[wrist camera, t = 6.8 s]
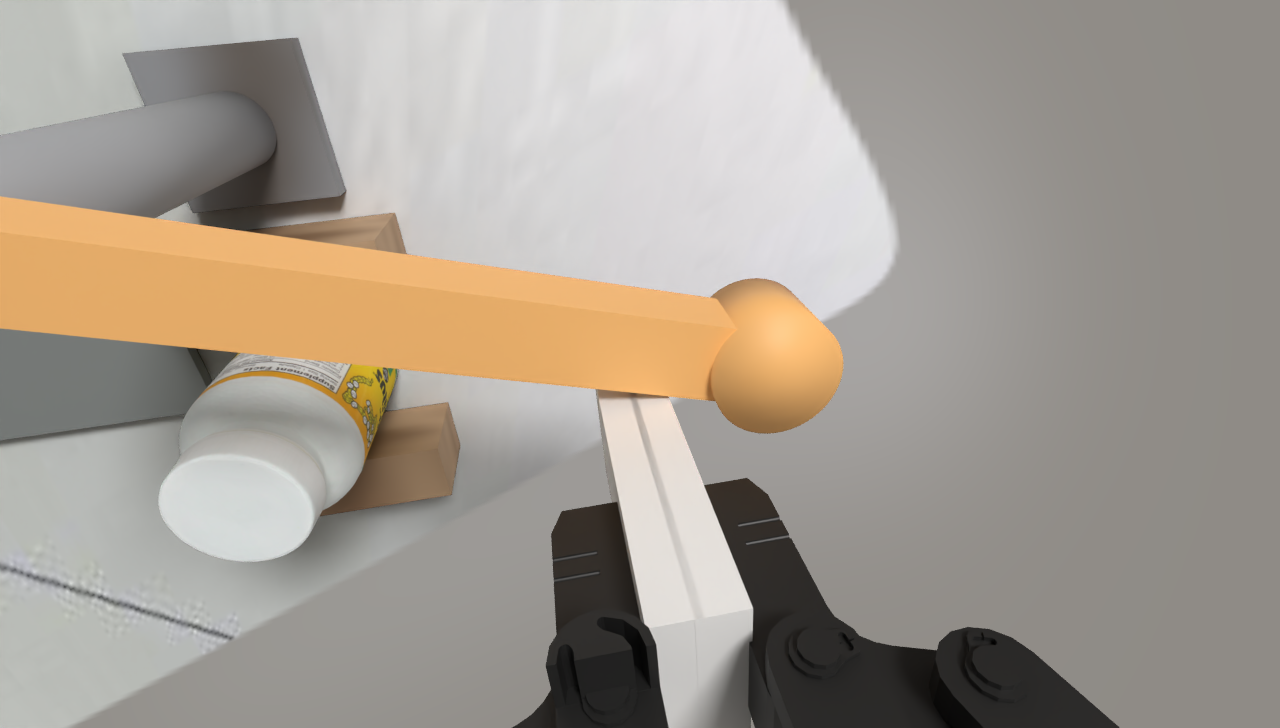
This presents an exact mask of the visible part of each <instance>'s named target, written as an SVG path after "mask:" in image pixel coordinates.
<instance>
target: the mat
mask: <svg viewBox="0 0 1280 728" xmlns="http://www.w3.org/2000/svg"><path fill="white" fill-rule="evenodd" d="M211 383H212V380H211V378H210V376H209V374H208V372H207V370H206V368H205V366H204V364H203V362H202V360H201V358H200V356H199V354H198V352H197V349H196V348H188V347H178V346H168V345H159V344H149V343H139V342H129V341H119V340H109V339H100V338H90V337H80V336H70V335H60V334H50V333H41V332H31V331H21V330H11V329H1V328H0V440H7V439H14V438H21V437H28V436H35V435H42V434H49V433H56V432H63V431H69V430H76V429H83V428H90V427H97V426H104V425H111V424H118V423H125V422H132V421H139V420H146V419H153V418H160V417H167V416H174V415H181V414H187V412H188V410H189V409H190V407H191V406H192V404H193V403H194V402H195V401H196V400H197V399H198V397H199V396H200V395H201V394H202V393H203V391H204V390H205V389H206V388H207V387H208V386H209V385H210V384H211Z"/></svg>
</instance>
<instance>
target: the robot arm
mask: <svg viewBox="0 0 1280 728" xmlns="http://www.w3.org/2000/svg"><path fill="white" fill-rule="evenodd" d="M596 396H597V404H598V411H599V419H600V427H601V435H602V442H603V450H604V458H605V465H606V473H607V478H608V484H609V489H610V495H611V500H612V503H607V504H602V505H596V506H590V507H584V508H579V509H572V510H567V511H562V512H561V514H560V516H559V519H558V521H557V523H556V525H555V527H554V529H553V531H552V534H551V538H552V556H553V575H554V594H555V613H556V630H557V631H556V632H557V635H556V637H555V639H554V640H553V642H552V643H551V645H550V646H549V652H548V657H547V662H546V669H547V673H548V677H549V682H550V686H551V691H550V692H549V694H548V696H547V697H546V699H545V700H544V702H543V703H542V704H541V705H540V706H539V708H537V710H536V711H535V712H534V713H533V714H532V715H531V716H529V717H528V718H527V719H525V720H524V721H522V722H521V723H519V724H518V725H516V726H514V727H513V728H751V717H752V720H753V722H754V726H755V728H1119V727H1118V726H1117V725H1116V724H1115V723H1113V721H1111V720H1110V719H1109V718H1108V717H1107V716H1106V715H1104V714H1103V713H1102V712H1101V711H1100V710H1099V709H1098V708H1096V707H1095V706H1094V705H1093V704H1092V703H1091V702H1089V701H1088V700H1087V699H1086V698H1085V697H1084V696H1083V695H1082V694H1080V693H1079V692H1078V691H1077V690H1076V689H1075V688H1073V687H1072V686H1071V685H1070V684H1069V683H1068V682H1067V681H1066V680H1064V679H1063V678H1062V677H1061V676H1060V675H1059V674H1057V673H1056V672H1055V671H1054V670H1053V669H1052V668H1051V667H1049V666H1048V665H1047V664H1046V663H1045V662H1044V661H1043V660H1041V659H1040V658H1039V657H1038V656H1037V655H1036V654H1035V653H1033V652H1032V651H1031V650H1029V649H1028V648H1026V647H1025V646H1023V645H1022V644H1020V643H1019V642H1017V641H1016V640H1014V639H1013V638H1011V637H1009V636H1006V635H1003V634H1001V633H998V632H995V631H992V630H990V629H982V628H971V627H967V628H963V629H959V630H955V631H951V632H950V633H949V634H948V635H947V636H945V637H944V638H943V639H942V640H941V641H940V642H939V645H938V649H937V650H927V649H918V648H909V647H899V646H891V645H886V644H881V643H876V642H873V641H871V640H868V639H866V638H863V637H861V636H859V635H858V634H857V633H856V631H855V630H854V629H853V628H851V627H850V626H848V625H847V624H845V623H844V622H842V621H841V620H839V619H838V618H836V617H834V615H833V614H832V612H831V611H830V609H829V608H828V607H827V605H826V603H825V601H824V599H823V597H822V596H821V594H820V592H819V590H818V588H817V586H816V584H815V582H814V581H813V579H812V577H811V575H810V573H809V571H808V570H807V567H806V565H805V564H804V562H803V560H802V558H801V556H800V554H799V552H798V550H797V549H796V547H795V545H794V543H793V541H792V539H790V538H789V533H788V532H787V530H786V528H785V526H784V524H783V522H782V521H781V520H780V518H779V515H778V513H777V511H776V509H775V507H774V505H773V503H772V501H771V500H770V498H769V496H768V494H766V493H765V492H764V491H763V490H761V489H760V488H759V487H757V486H756V485H755V484H754V483H753V482H751V481H750V480H749V479H747V478H744V479H738V480H733V481H727V482H721V483H715V484H709V485H704V484H703V482H702V479H701V477H700V474H699V472H698V469H697V467H696V464H695V462H694V459H693V457H692V455H691V452H690V449H689V447H688V444H687V442H686V439H685V437H684V434H683V432H682V429H681V427H680V425H679V422H678V420H677V417H676V414H675V412H674V410H673V407H672V404H671V402H670V399H669V397H668V396H660V395H650V394H640V393H630V392H620V391H611V390H601V389H596Z"/></svg>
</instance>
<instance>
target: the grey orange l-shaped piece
mask: <svg viewBox="0 0 1280 728" xmlns="http://www.w3.org/2000/svg"><path fill="white" fill-rule="evenodd" d="M275 147H276V132H275V128H274V126H273V123H272V121H271V119H270V118H269V116H268V115H267V113H266V112H265V111H264V110H263V108H261V107H260V106H259V105H258V104H257V103H256V102H255V101H253V100H251V99H250V98H248V97H246V96H244V95H242V94H239V93H235V92H229V91H221V92H215V93H210V94H205V95H200V96H195V97H190V98H185V99H180V100H175V101H170V102H165V103H160V104H155V105H150V106H145V107H140V108H134V109H129V110H124V111H119V112H114V113H109V114H104V115H99V116H94V117H89V118H84V119H79V120H74V121H69V122H64V123H59V124H54V125H49V126H44V127H39V128H34V129H29V130H24V131H19V132H14V133H9V134H4V135H0V328H1V329H11V330H21V331H31V332H41V333H50V334H60V335H70V336H80V337H90V338H100V339H109V340H119V341H129V342H139V343H149V344H159V345H168V346H178V347H188V348H198V349H208V350H218V351H227V352H237V353H247V354H257V355H267V356H276V357H286V358H296V359H306V360H316V361H326V362H335V363H345V364H355V365H365V366H375V367H385V368H394V369H404V370H414V371H424V372H434V373H444V374H453V375H463V376H473V377H483V378H493V379H503V380H512V381H522V382H532V383H542V384H552V385H562V386H571V387H581V388H591V389H601V390H611V391H620V392H630V393H640V394H650V395H660V396H670V397H679V398H689V399H701V400H709V401H716V403H717V405H718V407H719V409H720V410H721V412H722V414H723V415H724V416H725V417H726V418H727V419H728V420H729V421H730V422H732V424H734V425H736V426H737V427H739V428H742V429H744V430H747V431H750V432H755V433H767V434H768V433H777V432H783V431H786V430H789V429H792V428H795V427H797V426H800V425H801V424H803V423H805V422H807V421H808V420H809V419H811V418H813V417H814V416H815V415H816V414H818V413H819V412H820V411H821V410H822V409H823V408H824V407H825V406H826V405H827V404H828V402H829V401H830V400H831V398H832V397H833V395H834V394H835V392H836V390H837V388H838V386H839V383H840V380H841V377H842V371H843V355H842V351H841V348H840V345H839V343H838V341H837V340H836V338H835V336H834V335H833V334H832V333H831V332H830V331H829V330H828V329H827V328H826V327H825V326H824V325H823V324H822V323H821V322H820V321H819V320H818V319H817V318H816V317H815V316H814V314H813V313H812V312H811V311H810V310H809V309H808V308H807V307H806V306H805V305H804V304H803V303H802V302H801V301H800V300H799V299H798V298H797V297H796V296H795V295H794V294H793V293H792V292H791V291H790V290H789V289H787V288H786V287H785V286H783V285H781V284H779V283H777V282H774V281H771V280H767V279H759V278H755V279H745V280H741V281H737V282H734V283H732V284H729V285H727V286H725V287H724V288H722V289H720V290H719V291H717V292H716V293H715V294H713V295H712V296H711V297H710V298H709V297H702V296H695V295H688V294H681V293H674V292H667V291H660V290H653V289H646V288H639V287H632V286H625V285H618V284H611V283H604V282H597V281H590V280H583V279H576V278H569V277H562V276H555V275H548V274H541V273H534V272H527V271H520V270H513V269H506V268H499V267H491V266H484V265H477V264H470V263H463V262H456V261H449V260H442V259H435V258H428V257H421V256H414V255H407V254H400V253H393V252H386V251H379V250H372V249H365V248H358V247H351V246H344V245H337V244H330V243H323V242H316V241H309V240H302V239H295V238H288V237H281V236H274V235H267V234H260V233H253V232H246V231H239V230H232V229H225V228H218V227H211V226H204V225H197V224H190V223H183V222H176V221H169V220H162V219H155V218H156V217H158V216H160V215H162V214H164V213H166V212H168V211H170V210H172V209H174V208H176V207H178V206H180V205H182V204H184V203H186V202H188V201H190V200H192V199H194V198H196V197H198V196H200V195H202V194H204V193H206V192H208V191H210V190H212V189H214V188H216V187H218V186H220V185H222V184H224V183H226V182H228V181H230V180H232V179H234V178H236V177H238V176H240V175H242V174H244V173H246V172H248V171H250V170H252V169H254V168H256V167H258V166H260V165H262V164H264V163H265V162H267V161H268V160H269V159H270V157H271V156H272V155H273V153H274V150H275Z"/></svg>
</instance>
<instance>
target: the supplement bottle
mask: <svg viewBox="0 0 1280 728" xmlns="http://www.w3.org/2000/svg"><path fill="white" fill-rule="evenodd" d="M397 375H398V369H394V368H385V367H375V366H365V365H355V364H345V363H335V362H326V361H316V360H306V359H296V358H286V357H276V356H267V355H257V354H247V353H238V354H237V355H236V356H235V357H234V358H233V359H232V360H231V362H230V363H229V364H228V365H227V366H226V367H225V368H224V369H223V370H222V372H221V373H220V374H219V375H218V376H217V377H216V378H215V379H214V380H213V381H212V383H211V384H210V385H209V386H208V387H207V388H206V389H205V390H204V391H203V393H202V394H201V395H200V396H199V397H198V399H197V400H196V401H195V402H194V403H193V404H192V406H191V407H190V409H189V410H188V412H187V414H186V415H185V417H184V419H183V422H182V425H181V428H180V433H179V451H180V458H179V460H178V462H177V463H176V464H175V466H174V467H173V468H172V470H171V471H170V472H169V474H168V475H167V476H166V478H165V479H164V481H163V483H162V485H161V487H160V491H159V497H158V506H159V510H160V513H161V516H162V518H163V520H164V522H165V523H166V525H167V526H168V528H169V529H170V530H171V531H172V532H173V533H174V534H175V535H176V536H177V537H178V538H179V539H180V540H181V541H183V542H184V543H186V544H187V545H189V546H191V547H193V548H194V549H196V550H198V551H200V552H203V553H205V554H207V555H210V556H213V557H216V558H220V559H224V560H229V561H237V562H260V561H266V560H272V559H276V558H278V557H281V556H284V555H286V554H288V553H290V552H292V551H293V550H295V549H297V548H298V547H299V546H300V545H301V544H302V543H303V542H304V541H305V540H306V539H307V538H308V536H309V535H310V533H311V532H312V530H313V528H314V526H315V524H316V522H317V520H318V518H319V516H320V514H321V512H322V510H325V509H327V508H329V507H330V506H332V505H333V504H335V503H336V502H338V501H339V500H340V499H341V498H343V497H344V496H345V495H346V494H347V493H348V491H349V490H350V489H351V488H352V487H353V485H354V484H355V482H356V480H357V479H358V477H359V475H360V473H361V472H362V470H363V466H364V464H365V460H366V458H367V455H368V452H369V450H370V447H371V444H372V441H373V439H374V436H375V434H376V431H377V429H378V426H379V424H380V421H381V418H382V415H383V413H384V411H385V408H386V406H387V403H388V400H389V398H390V395H391V392H392V390H393V388H394V385H395V381H396V379H397Z"/></svg>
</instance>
